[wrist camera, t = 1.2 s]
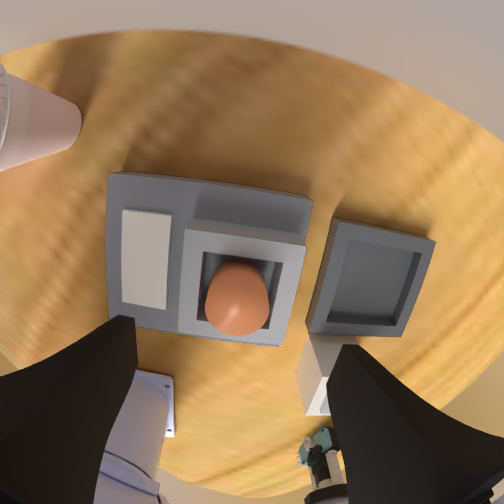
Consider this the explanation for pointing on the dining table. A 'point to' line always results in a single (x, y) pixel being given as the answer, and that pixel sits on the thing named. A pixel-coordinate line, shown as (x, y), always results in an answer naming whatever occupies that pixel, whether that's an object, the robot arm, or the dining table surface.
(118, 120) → the dining table surface
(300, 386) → the block
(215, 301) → the button
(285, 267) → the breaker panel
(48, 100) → the smoothie
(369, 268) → the tray
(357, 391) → the robot arm
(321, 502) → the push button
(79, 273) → the dining table surface
